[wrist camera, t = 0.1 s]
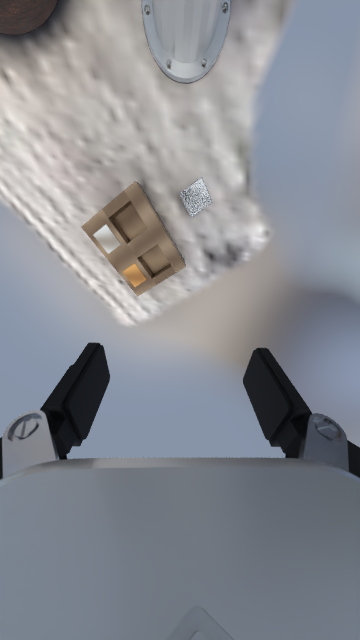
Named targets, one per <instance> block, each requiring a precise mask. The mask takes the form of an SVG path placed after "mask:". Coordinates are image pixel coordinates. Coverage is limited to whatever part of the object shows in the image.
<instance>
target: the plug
mask: <svg viewBox="0 0 360 640" xmlns="http://www.w3.org/2000/svg"><path fill="white" fill-rule="evenodd" d="M180 194H181V196H180V197H181V199H182V201H183V203H184V205H185V207H186V209H187V211H188V213H189V215H190V216H192V217H193V216H194V215H196V214H197V213H199V212H200V211H201V210H203V209H204V208H206V207H207V206H209V205H210V204H211V203H213V202H212V199H211V197H210V195H209V192H208V190H207V188H206V185H205V183H204V180H203V178H202V177H201V178H199V179H198V180H197V181H196V182H194V183H193V184H192V185H190V186H189V187H188V188H186V189H185V190H184V191H182V192H181V193H180Z"/></svg>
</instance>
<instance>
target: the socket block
mask: <svg viewBox="0 0 360 640" xmlns="http://www.w3.org/2000/svg"><path fill="white" fill-rule="evenodd" d="M82 228H83V230H84V231H85V232H86V233H87V235H88V236H89V237H90V238H91V240H92V241H93V242H94V243H95V244H96V246H97V247H98V248H99V249H100V251H101V252H102V253H103V254H104V256H105V257H106V258H107V259H108V260H109V262H110V263H111V264H112V265H113V267H114V268H115V269H116V270H117V272H118V273H119V274H120V275H121V276H122V278H123V279H124V280H125V281H126V283H127V284H128V285H129V286H130V288H131V289H132V290H133V291H134V292H135V294H136V295H137V296H139V295H141V294H142V293H144V292H146V291H147V290H149V289H150V288H152V287H154V286H155V285H157V284H158V283H160V282H162V281H163V280H165V279H166V278H168V277H170V276H171V275H173V274H174V273H176V272H178V271H179V270H181V269H183V268H184V267H186V265H185V261H184V259H183V257H182V256H181V254H180V252H179V251H178V249H177V247H176V245H175V244H174V242H173V240H172V239H171V237H170V235H169V233H168V232H167V230H166V228H165V227H164V225H163V223H162V221H161V220H160V218H159V216H158V215H157V213H156V211H155V209H154V208H153V206H152V204H151V203H150V201H149V199H148V197H147V196H146V194H145V192H144V191H143V189H142V187H141V185H140V184H138V183H137V182H136V181H135V182H134V183H133V184H132V185H130V186H129V187H128V188H127V189H126V190H124V191H123V192H122V193H121V194H120V195H119V196H117V197H116V198H115V199H114V200H113V201H111V202H110V203H109V204H108V205H107V206H105V207H104V208H103V209H102V210H101V211H100V212H98V213H97V214H96V215H95V216H94V217H92V218H91V219H90V220H89V221H88V222H87V223H85V224H84V225H83V226H82Z"/></svg>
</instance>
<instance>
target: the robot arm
mask: <svg viewBox="0 0 360 640" xmlns="http://www.w3.org/2000/svg"><path fill="white" fill-rule="evenodd" d="M230 9H231V0H142V15H143V23H144V29H145V34H146V38H147V41H148V45H149V48H150V50H151V52H152V55H153V57H154V59H155V61H156V62H157V64H158V66H159V67H160V68H161V69H162V71H163V72H164V73H165V74H166V75H167V76H169V77H170V78H171V79H173V80H175V81H178V82H183V83H189V82H194V81H196V80H198V79H200V78H201V77H203V76H204V75H205V74H206V73H207V72H208V71H209V70H210V69H211V67H212V66H213V65H214V63H215V61H216V60H217V58H218V56H219V54H220V51H221V49H222V46H223V44H224V40H225V37H226V33H227V28H228V24H229V18H230ZM223 11H224V12H225V13H223ZM148 13H149V15H147V14H148ZM202 65H204V66H205V68H203V67H202ZM168 66H170V67H171V68H170V69H168ZM109 379H110V374H109V370H108V365H107V360H106V356H105V351H104V347H103V346H102V345H100V343H88V344H87V346H86V347H85V349H84V350H83V352H82V353H81V355H80V356H79V358H78V359H77V361H76V362H75V363H74V364H73V365H71V366H70V367H69V369H68V370H67V371H66V373H65V374H64V376H63V377H62V379H61V380H60V382H59V383H58V385H57V386H56V387H55V389H54V390H53V392H52V393H51V395H50V396H49V398H48V399H47V400H46V402H45V403H44V405H43V406H42V407H41V409H40V410H32V411H28V412H26V413H23V414H22V415H20V416H18V417H17V418H16V419H14V420H13V421H12V422H11V423H10V424H9V425H8V426H7V427H6V429H5V431H4V433H3V436H2V437H1V438H0V640H360V448H359V447H358V446H356V445H355V444H353V443H351V442H350V441H348V440H347V436H346V434H345V432H344V430H343V429H342V428H341V427H340V425H339V424H337V423H336V422H335V421H334V420H332V419H331V418H329V417H328V416H325V415H323V414H319V413H314V414H312V412H311V411H310V409H309V407H308V406H307V405H306V403H305V402H304V400H303V399H302V397H301V396H300V394H299V393H298V392H297V390H296V389H295V387H294V386H293V385H292V383H291V381H290V380H289V378H288V377H287V376H286V374H285V373H284V371H283V370H282V368H281V367H280V366H279V364H278V362H277V361H276V360H275V358H274V357H273V355H272V354H271V352H270V351H269V349H267V348H257V349H256V350H254V351H253V353H252V356H251V359H250V362H249V364H248V367H247V370H246V372H245V375H244V378H243V384H244V386H245V389H246V391H247V394H248V396H249V399H250V401H251V404H252V406H253V408H254V411H255V413H256V416H257V419H258V421H259V424H260V426H261V428H262V431H263V433H264V436H265V438H266V439H267V440H269V442H270V444H271V446H272V447H281V449H282V451H283V456H282V458H216V457H215V458H86V459H69V456H68V453H69V452H70V450H71V448H72V446H80V445H81V443H82V441H83V440H84V439H86V438H87V436H88V433H89V431H90V428H91V426H92V423H93V421H94V418H95V416H96V413H97V411H98V408H99V406H100V403H101V401H102V398H103V396H104V393H105V391H106V388H107V386H108V383H109Z"/></svg>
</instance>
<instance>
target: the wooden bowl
mask: <svg viewBox="0 0 360 640" xmlns="http://www.w3.org/2000/svg"><path fill="white" fill-rule="evenodd" d="M57 2H58V0H0V33H4V34H12V35H17V34H24V33H28V32H30V31H33V30H35V29H37V28H38V27H40V26H41V25H42V24H43V23H44V22H45V21H46V20H47V19H48V18H49V16H50V15H51V14H52V12H53V10H54V8H55V6H56V4H57Z"/></svg>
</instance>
